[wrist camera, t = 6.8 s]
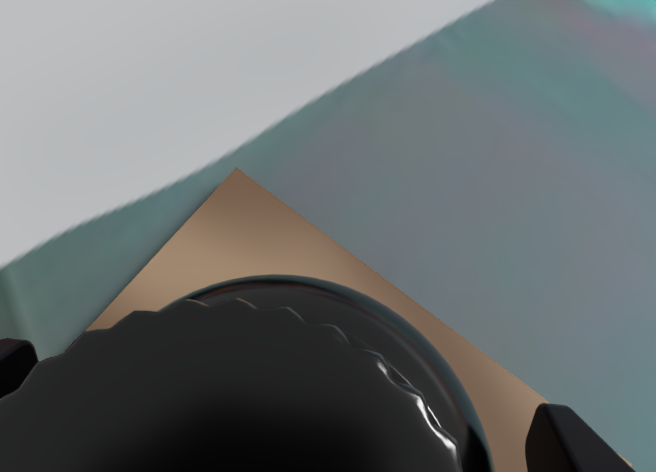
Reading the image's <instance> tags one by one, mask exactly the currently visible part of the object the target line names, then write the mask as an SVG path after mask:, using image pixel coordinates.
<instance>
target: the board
mask: <svg viewBox="0 0 656 472" xmlns="http://www.w3.org/2000/svg"><path fill="white" fill-rule="evenodd" d="M268 274H283V275H298V276H307V277H313V278H318V279H322V280H327V281H331V282H334V283H337V284H340V285H343V286H346V287H349V288H352V289H354V290H356V291H359V292H361V293H363V294H366V295H368V296H370V297H371V298H373V299H375V300H377V301H379V302H380V303H382V304H384V305H386V306H387V307H389V308H390V309H392V310H393V311H395V312H396V313H397V314H399V315H400V316H402V317H403V318H404V319H406V320H407V321H408V322H409V323H410V324H412V325H413V326H414V327H415V328H416V329H417V330H419V331H420V332H421V333H422V334H423V335H424V336H425V337H426V338H427V339H428V340H429V341H430V342H431V343H432V344H433V345H434V346H435V348H436V349H437V350H438V351H439V353H440V354H441V355H442V356H443V357H444V359H445V360H446V361H447V362H448V363H449V365H450V366H451V368H452V369H453V371H454V372H455V374H456V375H457V377H458V378H459V380H460V381H461V383H462V385H463V386H464V388H465V390H466V392H467V394H468V395H469V397H470V399H471V401H472V403H473V405H474V407H475V410H476V412H477V414H478V416H479V419H480V421H481V423H482V426H483V429H484V432H485V435H486V438H487V440H488V443H489V446H490V450H491V454H492V458H493V463H494V467H495V471H496V472H527V465H526V458H525V441H526V437H527V434H528V431H529V428H530V425H531V422H532V419H533V416H534V413H535V410H536V408H537V406H538V405H539V404H541V403H550V402H548V401H547V400H546V399H544V398H543V397H542V396H540V395H539V394H538V393H536V392H535V391H534V390H532V389H531V388H530V387H528V386H527V385H526V384H524V383H523V382H522V381H520V380H519V379H518V378H516V377H515V376H514V375H512V374H511V373H510V372H508V371H507V370H506V369H504V368H503V367H502V366H500V365H499V364H498V363H496V362H495V361H494V360H492V359H491V358H490V357H488V356H487V355H486V354H484V353H483V352H482V351H480V350H479V349H478V348H476V347H475V346H474V345H472V344H471V343H470V342H468V341H467V340H466V339H464V338H463V337H462V336H460V335H459V334H458V333H456V332H455V331H454V330H452V329H451V328H450V327H448V326H447V325H446V324H444V323H443V322H442V321H440V320H439V319H438V318H436V317H435V316H434V315H432V314H431V313H430V312H428V311H427V310H426V309H424V308H423V307H422V306H420V305H419V304H418V303H416V302H415V301H414V300H412V299H411V298H410V297H408V296H407V295H406V294H404V293H403V292H402V291H400V290H399V289H398V288H396V287H395V286H394V285H392V284H391V283H390V282H388V281H387V280H386V279H384V278H383V277H382V276H380V275H379V274H378V273H376V272H375V271H374V270H372V269H371V268H370V267H368V266H367V265H366V264H364V263H363V262H362V261H360V260H359V259H358V258H356V257H355V256H354V255H352V254H351V253H350V252H348V251H347V250H346V249H344V248H343V247H342V246H340V245H339V244H338V243H336V242H335V241H334V240H332V239H331V238H330V237H328V236H327V235H326V234H324V233H323V232H322V231H320V230H319V229H318V228H316V227H315V226H314V225H312V224H311V223H310V222H308V221H307V220H306V219H304V218H303V217H302V216H300V215H299V214H298V213H296V212H295V211H294V210H292V209H291V208H290V207H288V206H287V205H286V204H284V203H283V202H282V201H280V200H279V199H278V198H276V197H275V196H274V195H272V194H271V193H270V192H268V191H267V190H266V189H264V188H263V187H262V186H260V185H259V184H258V183H256V182H255V181H254V180H252V179H251V178H250V177H248V176H247V175H246V174H244V173H243V172H242V171H240V170H239V169H238V168H235V169H234V170H233V172H232V173H231V174H230V175H229V176H228V177H227V178H226V179H225V180H224V181H223V182H222V183H221V185H220V186H219V187H218V188H217V189H216V190H215V191H214V192H213V193H212V194H211V195H210V196H209V198H208V199H207V200H206V201H205V202H204V203H203V204H202V205H201V206H200V207H199V208H198V210H197V211H196V212H195V213H194V214H193V215H192V216H191V217H190V218H189V219H188V220H187V221H186V223H185V224H184V225H183V226H182V227H181V228H180V229H179V230H178V231H177V232H176V233H175V234H174V236H173V237H172V238H171V239H170V240H169V241H168V242H167V243H166V244H165V245H164V246H163V247H162V249H161V250H160V251H159V252H158V253H157V254H156V255H155V256H154V257H153V258H152V259H151V260H150V262H149V263H148V264H147V265H146V266H145V267H144V268H143V269H142V270H141V271H140V272H139V274H138V275H137V276H136V277H135V278H134V279H133V280H132V281H131V282H130V283H129V284H128V285H127V287H126V288H125V289H124V290H123V291H122V292H121V293H120V294H119V295H118V296H117V297H116V298H115V300H114V301H113V302H112V303H111V304H110V305H109V306H108V307H107V308H106V309H105V310H104V311H103V313H102V314H101V315H100V316H99V317H98V318H97V319H96V320H95V321H94V322H93V323H92V324H91V326H90V327H89V328H88V329H87V330H86V331H91V330H96V329H108V328H111V327H112V326H113V325H115V324H116V323H117V322H118V321H120V320H121V319H122V318H124V317H125V316H127V315H128V314H130V313H131V312H133V311H135V310H150V311H158V310H160V309H161V308H163V307H165V306H166V305H168V304H170V303H171V302H173V301H175V300H177V299H179V298H181V297H183V296H185V295H187V294H189V293H191V292H193V291H196V290H199V289H201V288H204V287H207V286H209V285H212V284H216V283H219V282H223V281H227V280H230V279H236V278H241V277H247V276H255V275H268ZM550 404H551V403H550ZM617 454H618V453H617ZM618 455H619V454H618ZM619 456H620V455H619ZM620 457H621V458H622V459H623V460H624V461H625V462H626V463H627V464H628V465H629V466H630V467H632V466H633V465H632V464H631V463H630V462H628V461H627V460H626V459H624V458H623V457H622V456H620Z"/></svg>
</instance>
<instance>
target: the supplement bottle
mask: <svg viewBox="0 0 656 472" xmlns="http://www.w3.org/2000/svg"><path fill="white" fill-rule="evenodd" d="M0 472H496V471H495V467H494V463H493V458H492V454H491V450H490V446H489V443H488V440H487V438H486V435H485V432H484V429H483V426H482V423H481V421H480V419H479V416H478V414H477V412H476V410H475V407H474V405H473V403H472V401H471V399H470V397H469V395H468V394H467V392H466V390H465V388H464V386H463V385H462V383H461V381H460V380H459V378H458V377H457V375H456V374H455V372H454V371H453V369H452V368H451V366H450V365H449V363H448V362H447V361H446V360H445V359H444V357H443V356H442V355H441V354H440V353H439V351H438V350H437V349H436V348H435V346H434V345H433V344H432V343H431V342H430V341H429V340H428V339H427V338H426V337H425V336H424V335H423V334H422V333H421V332H420V331H419V330H417V329H416V328H415V327H414V326H413V325H412V324H410V323H409V322H408V321H407V320H406V319H404V318H403V317H402V316H400V315H399V314H397V313H396V312H395V311H393V310H392V309H390V308H389V307H387V306H386V305H384V304H382V303H380V302H379V301H377V300H375V299H373V298H371V297H370V296H368V295H366V294H363V293H361V292H359V291H356V290H354V289H352V288H349V287H346V286H343V285H340V284H337V283H334V282H331V281H327V280H322V279H318V278H313V277H307V276H298V275H283V274H268V275H255V276H247V277H241V278H236V279H230V280H227V281H223V282H219V283H216V284H212V285H209V286H207V287H204V288H201V289H199V290H196V291H193V292H191V293H189V294H187V295H185V296H183V297H181V298H179V299H177V300H175V301H173V302H171V303H170V304H168V305H166V306H165V307H163V308H161V309H160V310H158V311H150V310H135V311H133V312H131V313H130V314H128V315H127V316H125V317H124V318H122V319H121V320H120V321H118V322H117V323H116V324H115V325H113V326H112V327H111V328H108V329H96V330H91V331H85V332H84V333H82V334H81V335H80V336H79V337H78V338H77V339H76V340H75V341H74V342H73V343H72V344H71V345H70V346H69V348H68V349H67V350H66V351H65V352H64V353H63V354H61V355H58V356H55V357H50V358H47V359H45V360H42V361H40V362H37V363H36V365H35V366H34V367H33V369H32V370H31V371H30V373H29V374H28V375H27V377H26V378H25V380H24V381H23V383H22V384H21V386H20V387H19V388H18V389H17V390H15V391H14V392H12V393H10V394H7V395H5V396H3V397H2V398H0Z"/></svg>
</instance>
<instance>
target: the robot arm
mask: <svg viewBox="0 0 656 472" xmlns="http://www.w3.org/2000/svg"><path fill="white" fill-rule="evenodd" d="M37 362H39V361H38V358H37V354H36V351H35V348H34V345H33V344H32V343H31V342H30V341H27V340H21V339H13V338H4V339H1V340H0V398H2V397H3V396H5V395H7V394H10V393H12V392H14V391H15V390H17V389H18V388H19V387H20V386H21V384H22V383H23V381H24V380H25V378H26V377H27V375H28V374H29V373H30V371H31V370H32V369H33V367H34V366H35V365H36V363H37ZM525 458H526V465H527V472H636V471H635V470H633V469H632V468H631V467H630V466H629V465H628V464H627V463H626V462H625V461H624V460H623V459H622V458H621V457H620V456H619V455H618V454H617V453H616V452H615V451H614V450H613V449H612V448H611V447H610V446H609V445H608V444H607V443H606V442H605V441H604V440H603V439H602V438H601V437H600V436H599V435H598V434H597V433H596V432H595V431H594V430H593V429H592V428H590V427H589V426H588V425H587V424H586V423H585V422H584V421H583V420H582V419H581V418H580V417H579V416H578V415H577V414H576V413H575V412H574V411H573V410H572V409H571V408H569V407H568V406H565V405H558V404H550V403H541V404H539V405H538V406H537V408H536V410H535V413H534V416H533V419H532V422H531V425H530V428H529V431H528V434H527V437H526V441H525Z"/></svg>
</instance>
